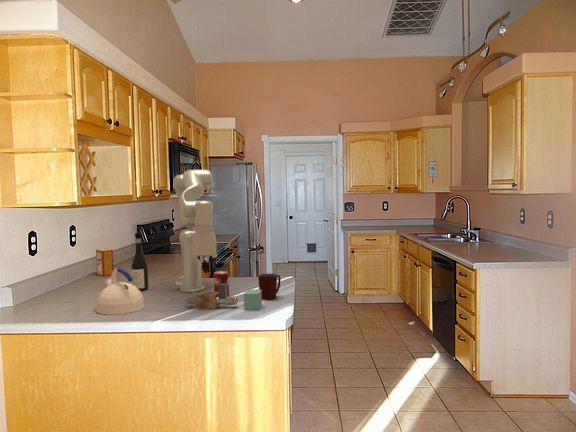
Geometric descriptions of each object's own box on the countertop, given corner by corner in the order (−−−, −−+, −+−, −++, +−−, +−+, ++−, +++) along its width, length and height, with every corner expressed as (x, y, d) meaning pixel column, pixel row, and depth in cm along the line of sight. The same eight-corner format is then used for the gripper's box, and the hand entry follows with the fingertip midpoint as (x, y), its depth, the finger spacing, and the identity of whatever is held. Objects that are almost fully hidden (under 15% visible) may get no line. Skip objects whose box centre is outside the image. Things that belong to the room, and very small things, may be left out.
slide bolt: (186, 305, 199) (186, 285, 198) (189, 303, 202) (188, 283, 202) (236, 305, 197) (235, 284, 197) (237, 303, 201) (236, 283, 200)
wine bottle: (143, 291, 233) (140, 233, 231) (129, 291, 234) (126, 233, 232) (151, 288, 240) (148, 232, 238) (137, 287, 242) (135, 232, 240)
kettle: (128, 300, 216) (126, 263, 214) (153, 307, 202) (152, 267, 201) (87, 310, 200) (85, 269, 199) (111, 318, 187) (109, 274, 186)
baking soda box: (97, 274, 281) (95, 249, 280) (107, 273, 286) (106, 248, 285) (103, 276, 275) (102, 250, 274) (113, 275, 279) (112, 249, 278)
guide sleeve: (194, 309, 197) (194, 295, 197) (198, 305, 204) (198, 291, 203) (216, 309, 196) (215, 295, 196) (219, 305, 203) (219, 291, 202)
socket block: (244, 309, 195) (243, 293, 194) (247, 305, 203) (246, 289, 202) (259, 309, 194) (258, 293, 194) (261, 305, 202) (261, 289, 202)
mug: (274, 294, 222) (273, 271, 221) (286, 297, 216) (285, 274, 215) (254, 298, 214) (254, 275, 213) (266, 301, 208) (266, 278, 207)
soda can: (217, 299, 214) (216, 274, 213) (212, 296, 220) (211, 271, 219) (231, 297, 217) (230, 272, 216) (226, 294, 224) (225, 270, 223)
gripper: (185, 230, 194) (186, 272, 195) (219, 229, 193) (220, 272, 194) (190, 229, 202) (191, 269, 203) (223, 228, 201) (224, 269, 202)
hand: (205, 270), depth 198 cm, fingers closed
